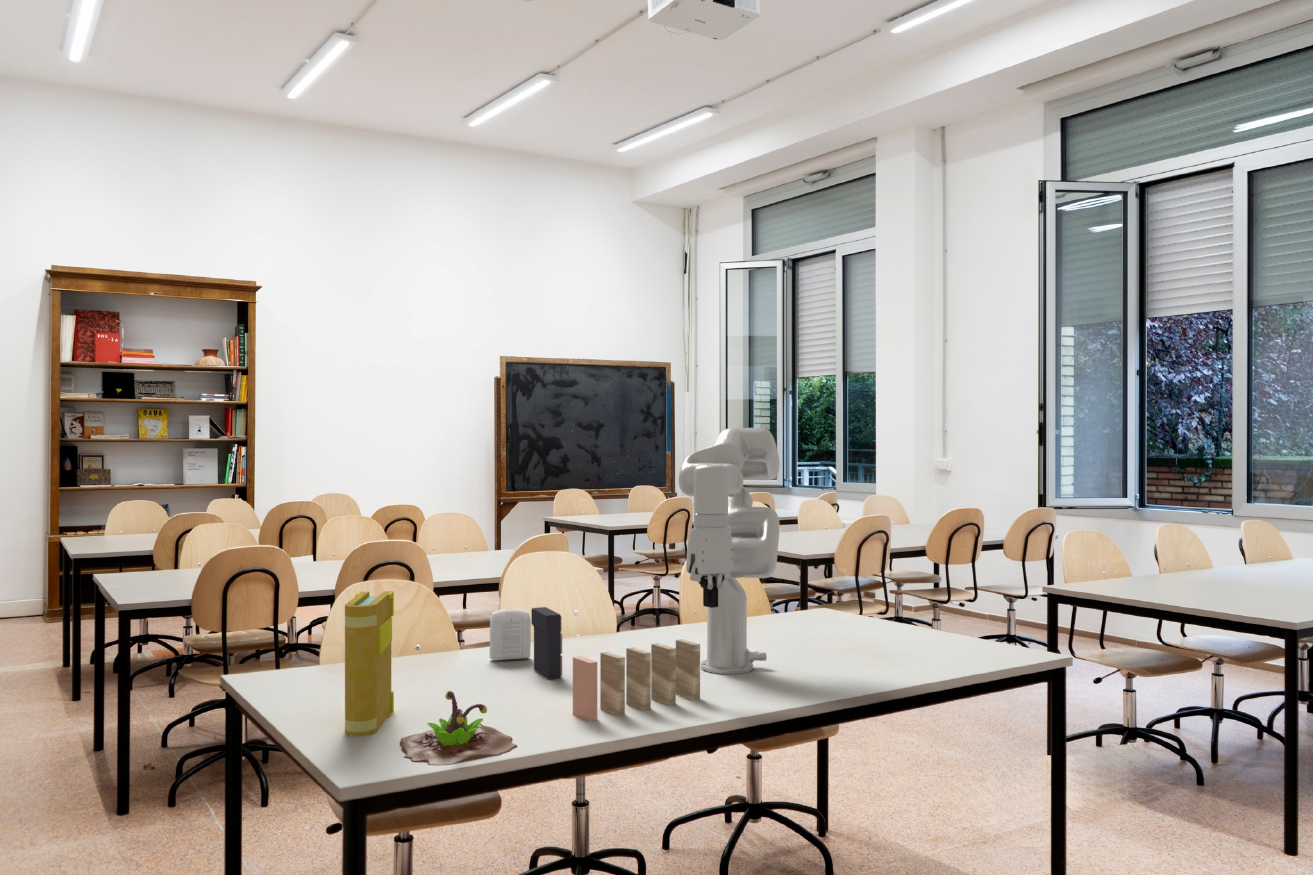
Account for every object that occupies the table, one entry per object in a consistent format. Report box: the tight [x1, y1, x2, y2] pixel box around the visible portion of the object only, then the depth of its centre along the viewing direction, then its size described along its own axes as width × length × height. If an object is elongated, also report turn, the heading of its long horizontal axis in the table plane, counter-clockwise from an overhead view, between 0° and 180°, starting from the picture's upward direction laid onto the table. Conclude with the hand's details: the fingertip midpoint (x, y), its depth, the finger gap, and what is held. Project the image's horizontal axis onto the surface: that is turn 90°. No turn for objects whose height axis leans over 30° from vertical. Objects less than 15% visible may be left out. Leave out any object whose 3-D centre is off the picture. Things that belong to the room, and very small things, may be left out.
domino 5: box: [675, 638, 701, 701], centre depth 206 cm, size 2×6×12 cm, turn 37°
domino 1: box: [572, 655, 598, 722], centre depth 190 cm, size 2×6×12 cm, turn 38°
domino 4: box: [650, 642, 677, 706], centre depth 202 cm, size 2×6×12 cm, turn 38°
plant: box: [399, 690, 518, 766], centre depth 172 cm, size 20×20×11 cm
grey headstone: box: [489, 608, 532, 660], centre depth 244 cm, size 10×4×12 cm, turn 103°
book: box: [344, 590, 395, 737], centre depth 186 cm, size 17×7×25 cm, turn 5°
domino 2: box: [599, 651, 626, 716], centre depth 194 cm, size 2×6×12 cm, turn 37°
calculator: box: [530, 606, 563, 681], centre depth 228 cm, size 11×4×15 cm, turn 26°
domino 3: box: [625, 646, 652, 711], centre depth 198 cm, size 2×6×12 cm, turn 37°
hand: (710, 606), depth 210 cm, fingers closed
